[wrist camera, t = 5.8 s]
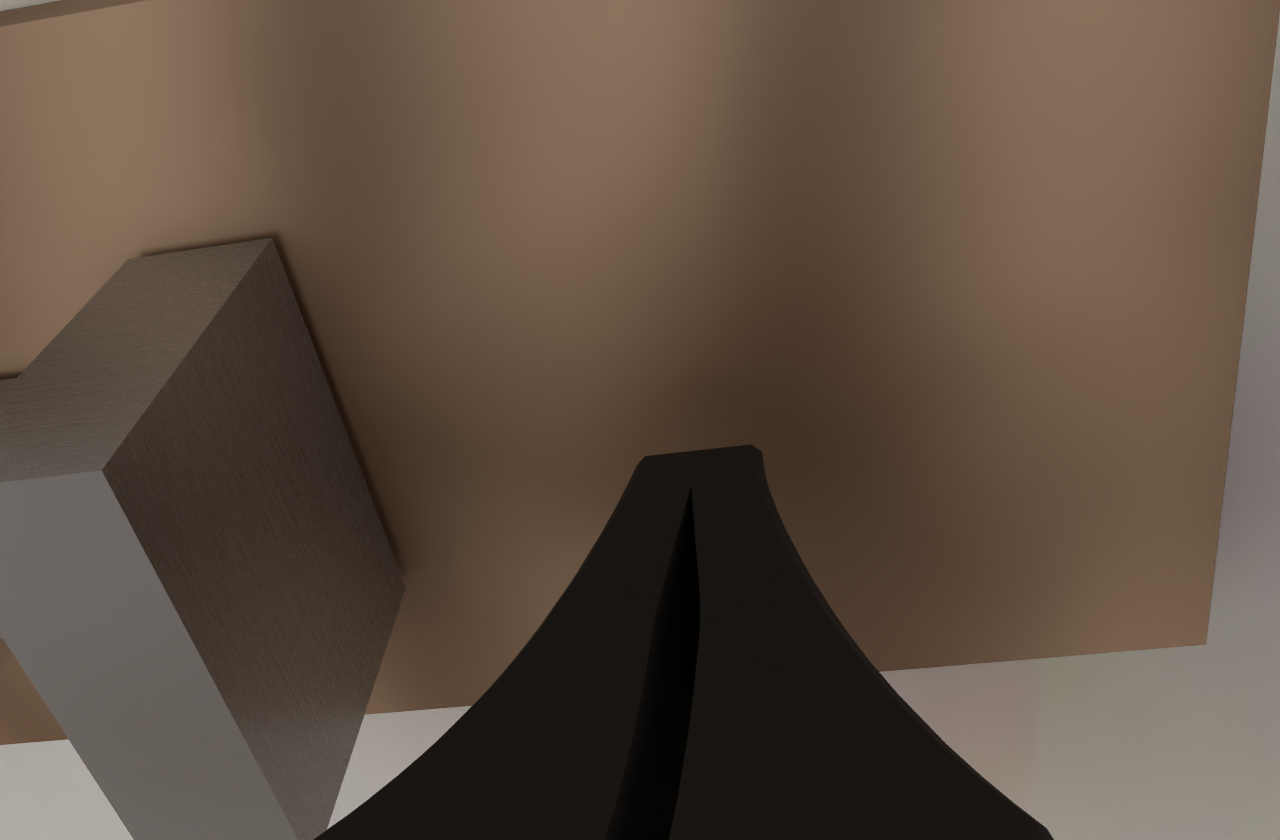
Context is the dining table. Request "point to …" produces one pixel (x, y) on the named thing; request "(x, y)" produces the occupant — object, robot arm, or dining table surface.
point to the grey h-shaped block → (194, 550)
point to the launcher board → (700, 282)
